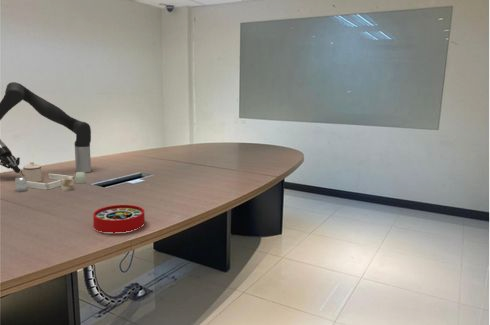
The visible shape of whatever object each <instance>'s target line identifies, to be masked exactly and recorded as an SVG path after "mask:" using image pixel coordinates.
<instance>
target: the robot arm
mask: <svg viewBox="0 0 490 325" xmlns="http://www.w3.org/2000/svg"><path fill="white" fill-rule="evenodd" d="M4 93H5V94H4V96H3V97H2V99H1V101H0V121H1V120H2V119H3V118H4V117H5V116H6V115H7V113H8V112H9V111H11V110H12V109H13V108H14V107H16V106H17V105H18V104H20V103H21V102H22V101H24V102H25V103H28V104H29V106H32V108H33V109H34V110H35V111H36V112H37V114H39V115H40V116H42V117H44V118H46V119H47V120H49V121H52V122H54V123H56V124H59V125H61V126H63V127H65V129H66V128H67V129H68V130H70V132H72V133H74V134H75V136H76V139H75V141H74V159H75V161H74V162H75V173H76V172H85V174H86V173H92V160H91V158H92V156H91V141H92V129H91V125H90V124H89V123H87V122H86V121H81V120H79V119H76V118H74V117H72V116H70V115H69V114H67V113H66V112H65V111H64V110H63V109H61V108H60V107H58V106H56V105H55V104H53V103H51V102H50V101H48V100H47V99H44V98H43V97H41V96H39V95H37V94H36V93H34V92H33V91H31V90H30V89H28V88H27V87H26V86H25V85H23V84H21V83H18V82H9V83H8V84H7V85H6V88H5V91H4ZM20 159H21V158H20V157H15V155H13V153H12V151H11V150H10V148H9V147H8V146H7V145H6V144H5V142H3V141H2V139H0V166H2V167H4V168H6V169H8V170H10V169H11V170H12V171H13V172H14V173H15V174H20V170H21V168H20V167H19V165H20V161H21V160H20Z"/></svg>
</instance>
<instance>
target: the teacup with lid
mask: <svg viewBox="0 0 490 325" xmlns="http://www.w3.org/2000/svg"><path fill="white" fill-rule="evenodd" d="M19 174H20V175H21V176H20V177H26V180H27V181H30V182H38V183H42V181H43V180H42V178H43V177H42V165H40V164H37V163H35V162H34V161H30V162H29V163H28V164H27V165H24V166H23V168H20V173H19Z"/></svg>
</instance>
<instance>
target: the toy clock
mask: <svg viewBox="0 0 490 325" xmlns="http://www.w3.org/2000/svg"><path fill="white" fill-rule="evenodd" d="M92 217H93V229H94V228H95V229H96V230H98V231H102V232H113V233H115V232H126V231H131V230H134V229H137V228H139V227H141V226H142V225H143V224H144V222H145V209H144V208H143V207H140V206H138V205H133V204H132V205H131V204H130V205H129V204H117V205H116V204H114V205H109V206H104V207H101V208H99V209H97V210H94V212H93V215H92ZM144 225H145V224H144ZM96 230H95V231H96Z"/></svg>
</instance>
